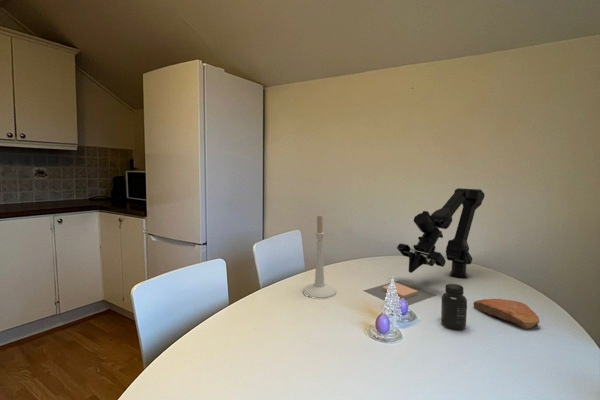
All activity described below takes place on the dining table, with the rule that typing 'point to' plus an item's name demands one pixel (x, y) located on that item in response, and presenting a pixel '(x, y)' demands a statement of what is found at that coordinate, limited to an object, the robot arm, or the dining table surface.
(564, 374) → the dining table surface
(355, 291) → the dining table surface
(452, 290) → the supplement bottle
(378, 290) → the mat
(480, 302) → the ceramic shard
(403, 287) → the tile
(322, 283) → the candlestick
